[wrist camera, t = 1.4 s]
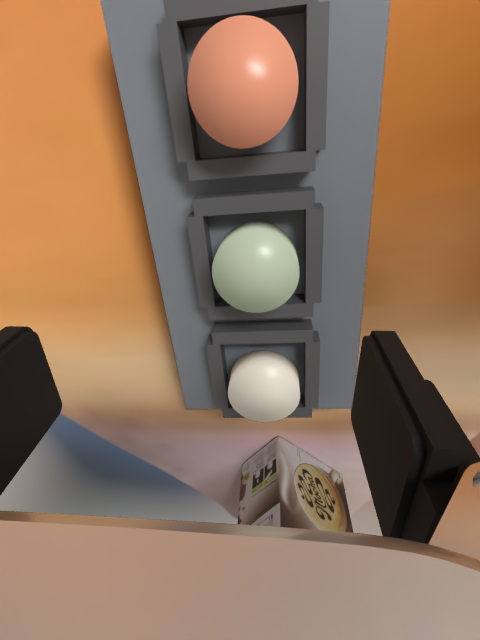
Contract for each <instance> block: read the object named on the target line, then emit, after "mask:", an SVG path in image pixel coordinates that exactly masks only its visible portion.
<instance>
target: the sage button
mask: <svg viewBox="0 0 480 640" xmlns="http://www.w3.org/2000/svg"><path fill="white" fill-rule="evenodd" d="M299 273H300V271H299V263H298V257H297V252H296V248H295V246H294V244H293V242H292V240H291V239H290V237H289V236H288V235H287V234H286V233H285V232H284V231H283V230H282V229H280V228H278V227H277V226H275V225H272V224H270V223H266V222H248V223H244V224H241V225H239V226H237V227H235V228H234V229H232V230H231V231H230V232H229V233H228V234H227V235H226V236H225V237H224V239H223V240H222V242H221V244H220V246H219V248H218V250H217V253H216V255H215V257H214V260H213V265H212V278H213V282H214V285H215V288H216V290H217V291H218V293H219V294H220V296H221V297H222V298H223V299H224V300H225V301H226V302H227V303H228V304H230V305H231V306H233V307H235V308H237V309H239V310H242V311H245V312H251V313H262V312H267V311H271V310H274V309H276V308H278V307H279V306H281V305H283V304H284V303H285V302H286V301H287V300H288V299H289V298H290V297H291V296H292V294H293V293H294V291H295V289H296V287H297V284H298V281H299Z"/></svg>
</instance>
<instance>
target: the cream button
mask: <svg viewBox="0 0 480 640" xmlns="http://www.w3.org/2000/svg"><path fill="white" fill-rule="evenodd" d="M228 398H229V402H230V404H231V405H232V407H233V408H234V410H235V411H236V412H238V413H239V414H240V415H242V416H243V417H245V418H247V419H250V420H253V421H258V422H273V421H278V420H281V419H283V418H285V417H287V416H288V415H290V414H291V413H292V412H293V411H294V410H295V409H296V407H297V406H298V404H299V400H300V388H299V377H298V371H297V368H296V366H295V365H294V363H293V362H292V361H291V360H290V359H289V358H288V357H287V356H285V355H283V354H281V353H279V352H277V351H273V350H264V349H262V350H254V351H251V352H248V353H246V354H244V355H242V356H241V357H240V358H239V359H238V360H237V361H236V362H235V363H234V365H233V367H232V370H231V376H230V381H229V387H228Z"/></svg>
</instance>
